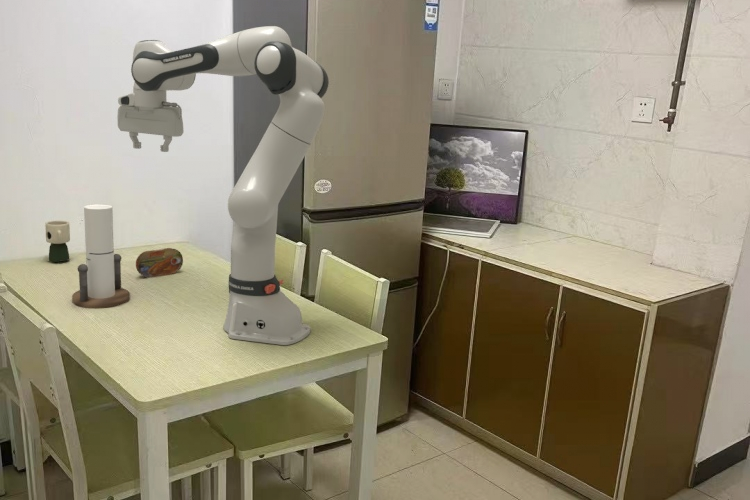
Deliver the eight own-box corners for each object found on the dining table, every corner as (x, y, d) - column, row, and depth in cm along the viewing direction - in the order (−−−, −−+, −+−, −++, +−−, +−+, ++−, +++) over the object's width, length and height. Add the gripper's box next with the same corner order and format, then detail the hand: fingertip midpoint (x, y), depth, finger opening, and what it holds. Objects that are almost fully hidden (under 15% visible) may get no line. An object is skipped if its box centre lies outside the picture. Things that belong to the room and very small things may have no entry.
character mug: (45, 257, 230) (43, 219, 227) (68, 256, 233) (67, 218, 230) (49, 266, 221) (47, 226, 217) (73, 264, 224) (71, 225, 221)
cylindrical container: (105, 299, 189) (102, 210, 183) (82, 296, 190) (78, 207, 184) (120, 292, 196) (117, 205, 189) (97, 289, 197) (94, 203, 191)
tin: (139, 279, 213) (138, 253, 211) (134, 277, 216) (134, 251, 214) (183, 272, 224) (183, 247, 221) (178, 270, 226) (178, 245, 224)
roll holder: (141, 296, 198) (141, 256, 195) (103, 312, 184) (101, 269, 181) (100, 288, 203) (98, 249, 200) (59, 302, 189) (57, 261, 186)
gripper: (188, 103, 192) (188, 152, 196) (128, 97, 199) (129, 145, 203) (174, 103, 187) (174, 154, 190) (113, 97, 193) (114, 147, 197)
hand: (150, 150), depth 196 cm, fingers open, 8 cm apart
